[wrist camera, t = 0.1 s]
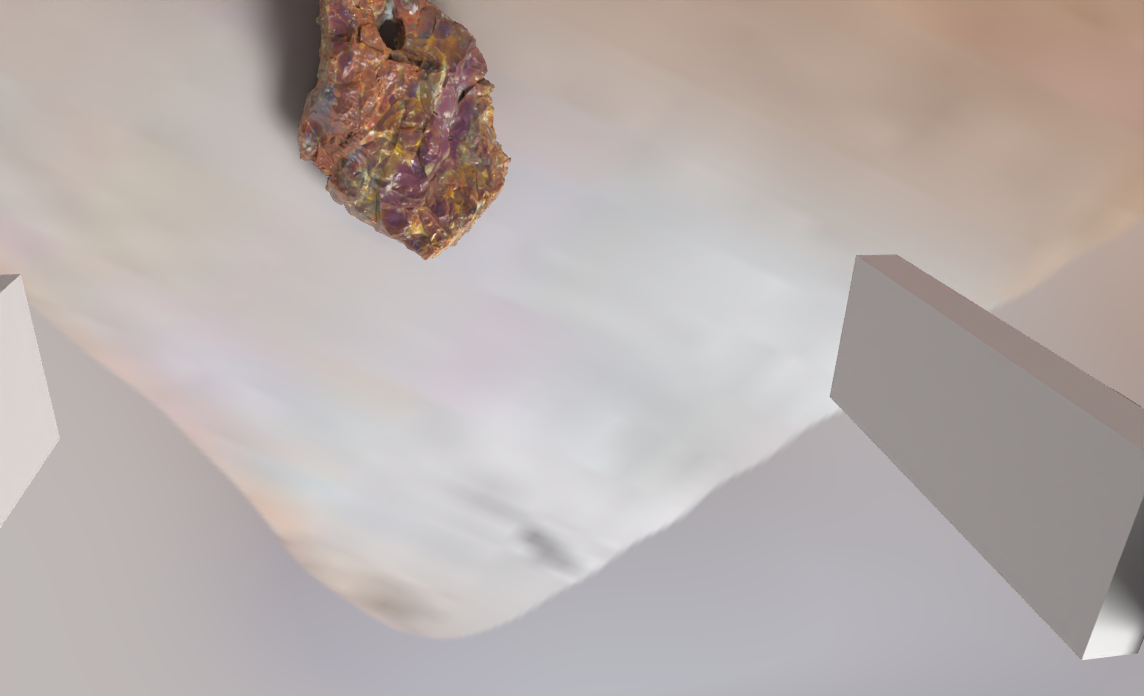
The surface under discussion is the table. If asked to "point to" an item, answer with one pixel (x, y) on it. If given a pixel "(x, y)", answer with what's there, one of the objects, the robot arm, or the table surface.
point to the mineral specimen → (403, 122)
